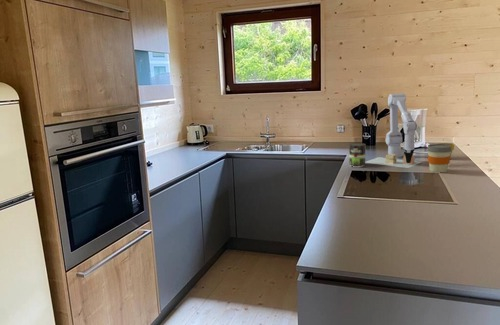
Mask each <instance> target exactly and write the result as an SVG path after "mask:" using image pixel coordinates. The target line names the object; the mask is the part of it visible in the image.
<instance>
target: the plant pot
mask: <svg viewBox="0 0 500 325" xmlns="http://www.w3.org/2000/svg"><path fill="white" fill-rule="evenodd" d="M438 144H446V145H450V146H451V153H450V156H452V153H453V151H454V149H455V144H454V143H449V142H444V143H443V142H442V143H441V142H439V143H438Z"/></svg>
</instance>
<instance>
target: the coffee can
mask: <svg viewBox="0 0 500 325" xmlns="http://www.w3.org/2000/svg"><path fill="white" fill-rule="evenodd" d="M348 145H349V147H348V151H349V154H348V155H349V156H348V158H349V159H348V160H349V162H348V164H349V165H350V166H349V165H348V166H349V167H351V166H353V167H352V168H363V166H364V167H365V166H366V163H365V162H366V146H367V144H366V143H362V142H355V143H354V142H352V143H349V144H348Z"/></svg>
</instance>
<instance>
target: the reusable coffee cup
mask: <svg viewBox="0 0 500 325" xmlns="http://www.w3.org/2000/svg"><path fill="white" fill-rule="evenodd" d="M450 153H451V146H450V145H446V144H439V143H435V144H434V143H431V144H428V146H427V162H428V165H429V171H431V172H432V173H435V172H445V173H447V171H448V168H449V164H450V161H451V156H452V155H451V156H450Z"/></svg>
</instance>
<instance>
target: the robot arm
mask: <svg viewBox="0 0 500 325" xmlns="http://www.w3.org/2000/svg"><path fill="white" fill-rule="evenodd" d="M406 100H407V96H406V94H405V93H389V95H388V97H387V106H388V107H389V121H390V125H389V129H390V130H389V131H388V132H387V133H386V134H385V143H386V145H387V147H388V148H387V155H388V154H393V155H397V159H399V158H401V157H402V158H403V155H404V156H405V157H406V162H407V163H410V162H411V158H412V155H414V152H415V137H416V136H415V134H416V130H417V129H418V124H417V121H416V120H414V119H413V117H412V115H411V113H410V112H409V111H408V109H407V105H406ZM399 111H400V113H401V115H400V119H401V121H402V123H403V126H402V127H403V133H404V147H403V146H401V144H402V143H403V137H402V135H403V134H402V132H400V131H399ZM402 149H403V150H404V151H403V155H402Z"/></svg>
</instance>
